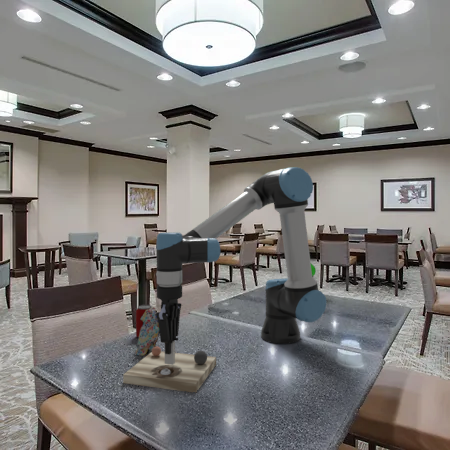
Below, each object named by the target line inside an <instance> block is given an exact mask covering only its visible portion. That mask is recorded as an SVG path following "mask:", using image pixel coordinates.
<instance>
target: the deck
mask: <svg viewBox="0 0 450 450" xmlns="http://www.w3.org/2000/svg"><path fill="white" fill-rule="evenodd" d="M194 355H195V354H190V353H182V352H175V363H174V364H173V365H171V364H165V350H164V351H162V350H161V353H160V355H158V356H154V355H153V354H152V352H149V353H148V354H146V355H145V356H144V357H143V358H142V359H141V360H139V361H138V362H137V363H136V364H135V365H133V366H132V367H131V368H130V369H128V370H127V371H126V372H124V373H123V375H122V377H123V380H122V381H123V383H122V384H128V385H134V386H143V387H148V388H149V387H150V388H157V389H164V390H172V391H178V392H185V391H186V392H185V393H193V392H195V393H194V394H197V392H198V391H199V389H200V388H201V386H203V384H204V383H205V382H206V379H207V378H208V377H209V376H210V374H211V372H212V371H213V370H214V368H215V367H216V366H217V357H216V356H211V355H210V356H208V355H207V361H206V362H205V363H204V364H202V365H199V364H197V363H196V362H195V360H194ZM163 369H169V370H170V371H171V374H169V375H161V374H160V372H161V371H162V370H163ZM197 390H198V391H197Z"/></svg>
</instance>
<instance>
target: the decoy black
mask: <svg viewBox="0 0 450 450" xmlns="http://www.w3.org/2000/svg"><path fill="white" fill-rule="evenodd" d="M193 355H194V360H195V362H196V363H197V364H199V365H202V364H204V363H205V362H206V361H207V356H208V354H207V353H206V352H205V351H203V350H198V351H196V352H195V353H194V354H193Z"/></svg>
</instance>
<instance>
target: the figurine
mask: <svg viewBox="0 0 450 450" xmlns="http://www.w3.org/2000/svg"><path fill="white" fill-rule="evenodd" d="M157 312H158V311H156V308H155V307H153V306H152V308H150V309H149V310H146V311H145V312H144V314H143V316H142V317H141V320H143V322H144V324H143V325H142V327H141V330H140V334H139V337H138V339H137V343H136V349H135V355H137V356H141V357H142V356H143V357H146V356H147V355H148V354H150V353H151V352H152V349H153V348H154V347H155V346H157V342H158V341H159V337H160V331H159V323H158V318H157Z"/></svg>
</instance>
